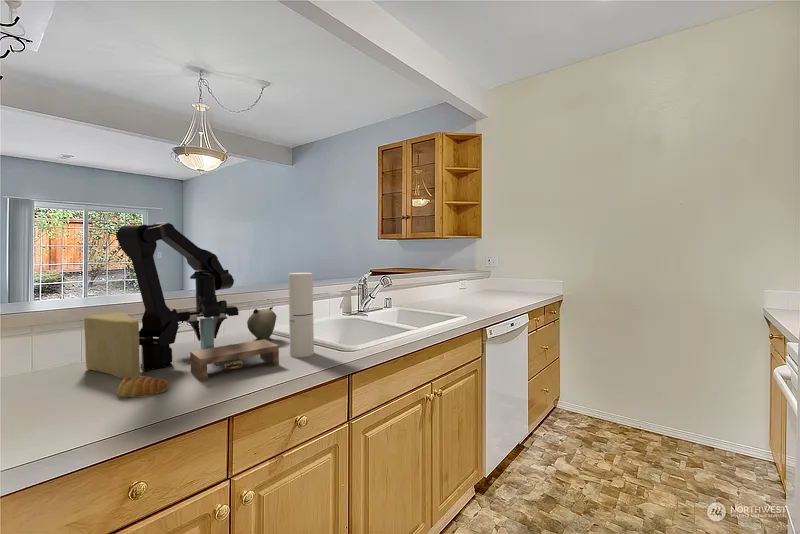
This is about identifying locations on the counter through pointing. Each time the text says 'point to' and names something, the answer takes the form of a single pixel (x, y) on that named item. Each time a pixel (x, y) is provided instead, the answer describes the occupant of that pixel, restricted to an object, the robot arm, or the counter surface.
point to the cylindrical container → (301, 314)
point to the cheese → (112, 344)
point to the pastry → (141, 386)
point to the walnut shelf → (232, 355)
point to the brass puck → (233, 365)
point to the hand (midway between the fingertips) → (207, 339)
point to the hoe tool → (209, 336)
